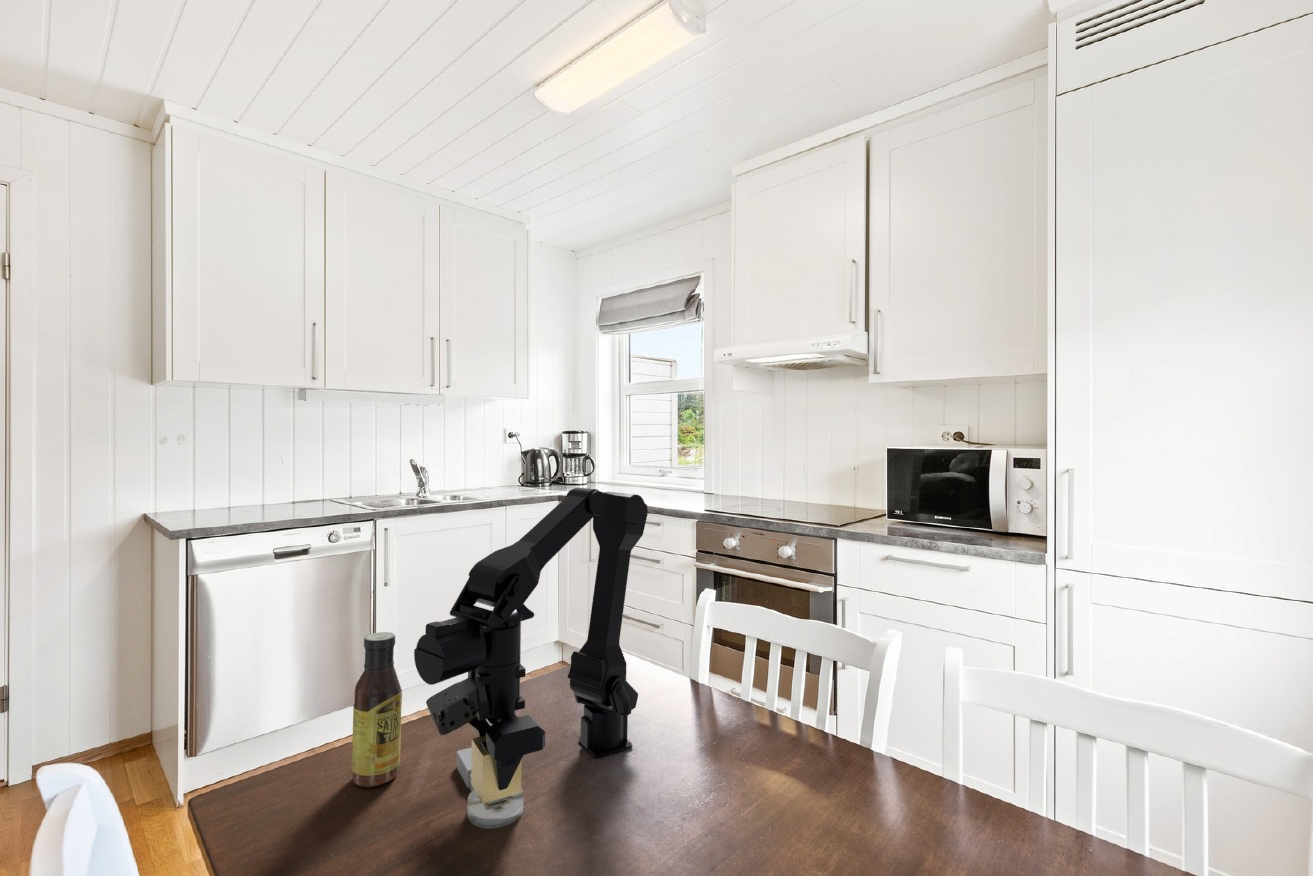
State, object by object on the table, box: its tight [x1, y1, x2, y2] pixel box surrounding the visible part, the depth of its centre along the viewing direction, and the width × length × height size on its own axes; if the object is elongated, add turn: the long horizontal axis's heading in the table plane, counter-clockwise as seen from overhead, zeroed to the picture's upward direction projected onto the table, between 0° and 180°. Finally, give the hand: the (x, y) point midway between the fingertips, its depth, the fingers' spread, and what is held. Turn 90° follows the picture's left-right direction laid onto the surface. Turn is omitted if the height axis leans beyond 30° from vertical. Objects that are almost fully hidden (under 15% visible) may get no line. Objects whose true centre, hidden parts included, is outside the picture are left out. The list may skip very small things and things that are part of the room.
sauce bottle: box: [350, 631, 403, 788], centre depth 88 cm, size 7×6×20 cm
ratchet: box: [455, 746, 524, 830], centre depth 85 cm, size 16×7×6 cm, turn 32°
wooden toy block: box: [471, 735, 523, 804], centre depth 81 cm, size 5×5×6 cm
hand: (496, 778), depth 81 cm, fingers closed on wooden toy block, 5 cm apart
